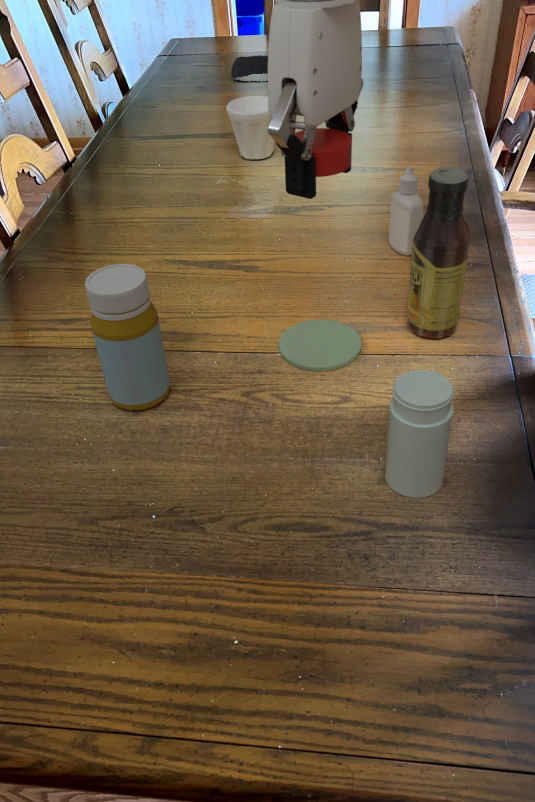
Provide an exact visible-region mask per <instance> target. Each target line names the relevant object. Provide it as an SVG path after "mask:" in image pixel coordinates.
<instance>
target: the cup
mask: <svg viewBox="0 0 535 802" xmlns="http://www.w3.org/2000/svg"><path fill="white" fill-rule="evenodd" d="M225 111H226V114H227V116H228V118H229V120H230V124H231V127H232V130H233V135H234V137H235V140H236V144H237V148H238V151H239V154H240V156H241V157H242V156H243V157H244V158H259V157H264V156H267V155H269V154H270V153H272V152H273V153H274V148H275V144H276V142H275V141H274V140H273V138H272V137H271V136H270V135H269V133H268V127H269V124H270V121H271V120H270V117H269V111H268V95H250V96H242V97H238V98H235V99H232V100H231V101H229V102H228V103H227V105H226V107H225ZM244 158H243V159H244Z"/></svg>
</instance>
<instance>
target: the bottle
mask: <svg viewBox="0 0 535 802" xmlns="http://www.w3.org/2000/svg"><path fill="white" fill-rule="evenodd" d="M84 282H85V283H84V288H85V292H86V296H87V300H88V304H89V306H90V309H91V315H90V328H91V332H92V337H93V340H94V345H95V347H96V352H97V355H98V358H99V359H98V360H99V363H100V366H101V371H102V375H103V379H104V384H105V387H106V391H107V394H108V397H109V399H110V401H111V402H112V403H113V404H114V405H115V406H117V407H119V408H121V409H122V410H126V411H130V412H139V411H145V410H149V409H152V408H154V407H156V406H157V405H159V404H161V403H162V401H163V400H164V399H166V397H167V396H168V395H169V393H170V390H171V380H170V379H171V378H170V374H169V368H168V362H167V357H166V352H165V347H164V341H163V336H162V330H161V325H160V318H159V314H158V310H157V308H156V307H155V305H154V304H153V302H152V300H151V299H152V298H151V294H150V287H149V282H148V278H147V274H146V272H145V270H144V269H143V268H141V267H140V266H138V265H134V264H130V263H114V264H110V265H106V266H102V267H100V268H97V269H95V270H94V271H93V272H91V273H90V274H88V276H87V277H86V278H85V281H84Z"/></svg>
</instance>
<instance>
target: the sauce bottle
mask: <svg viewBox="0 0 535 802" xmlns="http://www.w3.org/2000/svg"><path fill="white" fill-rule="evenodd" d="M468 186H469V174H468V172H467V171H466V170H465V169H461V168H458V167H452V166H444V167H438V168H436V169H434V170H433V171H431V172H430V174H429V177H428V184H427V187H428V189H429V193H428V203H427V207H426V212H425V213H424V214H423V219H422V221H421V224H420V226H419V228H418V230H417V232H416V234H415V236H414V239H413V248H412V255H411V261H410V271H409V272H410V273H409V287H408V297H407V309H406V317H407V325H408V328H409V329H410V331H411V332H412V334H414V335H415V336H418V337H422V338H425V339H428V340H429V339H432V340H436V339H437V340H439V339H445V338H447V337H449V336H451V335H452V334H453V333H454V331H455V330H456V328H457V326H458V322H459V320H460V315H461V313H460V312H461V307H462V306H461V305H462V300H463V295H464V286H465V279H466V272H467V267H468V266H467V265H468V259H469V255H468V254H469V251H468V250H469V243H470V240H471V238H470V237H471V236H470V235H471V234H470V233H471V232H470V231H471V229H470V227H469V224H468V222H466V219H465V218H464V215H463V214H464V209H465V208H464V202H465V201H464V200H465V194H466V192H467V190H468Z"/></svg>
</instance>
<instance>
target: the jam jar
mask: <svg viewBox="0 0 535 802" xmlns="http://www.w3.org/2000/svg"><path fill="white" fill-rule="evenodd" d="M454 395H455V390H454V386H453V385H452V383H451V381H450V380H449V378H447V377H446V376H445V375H443V374H441V373H439V372H437V371H434V370H430V369H413V370H409V371H405V372H403V373H401V374H400V375H399V376H397V377H396V378H395V380H394V384H393V387H392V397H391V398H390V401H389V406H388V420H387V421H388V422H387V434H386V435H387V436H386V437H387V439H386V448H385V449H386V452H385V466H384V479H385V482H386V483H387V485H388V487H390V489H391V490H393V491H394V492H396V493H397V494H399V495H401V496H404V497H407V498H411V499H418V498H419V499H420V498H427V497H430V496H432V495H434V494H436V493H437V492H439V490H440V489H442V486H443V484H444V481H445V473H446V466H447V461H448V460H447V459H448V453H449V446H450V438H451V431H452V425H453V419H454V412H455V411H454V410H455V407H454V404H453V402H452V400H453V399H454Z"/></svg>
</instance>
